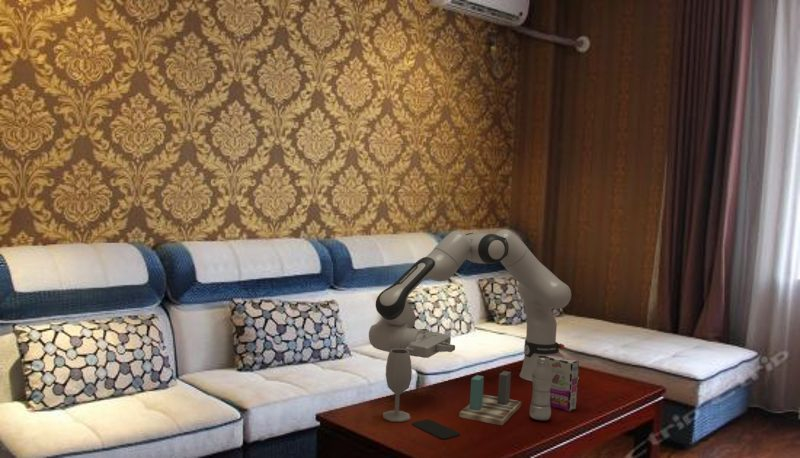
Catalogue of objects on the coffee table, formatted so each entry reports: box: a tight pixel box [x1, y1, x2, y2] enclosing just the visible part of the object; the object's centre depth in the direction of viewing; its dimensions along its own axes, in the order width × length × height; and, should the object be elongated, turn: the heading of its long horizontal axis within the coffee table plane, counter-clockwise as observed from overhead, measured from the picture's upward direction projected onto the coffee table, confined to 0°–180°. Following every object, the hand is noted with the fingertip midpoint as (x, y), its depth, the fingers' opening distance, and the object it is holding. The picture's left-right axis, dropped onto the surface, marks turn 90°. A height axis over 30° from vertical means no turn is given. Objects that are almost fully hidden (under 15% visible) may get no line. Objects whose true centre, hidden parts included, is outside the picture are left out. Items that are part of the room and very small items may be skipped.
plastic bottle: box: [529, 356, 553, 422], centre depth 220 cm, size 6×7×20 cm
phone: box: [410, 418, 461, 441], centre depth 208 cm, size 7×1×15 cm
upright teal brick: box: [469, 374, 485, 410], centre depth 222 cm, size 2×5×10 cm, turn 155°
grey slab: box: [497, 370, 512, 405], centre depth 229 cm, size 2×5×10 cm, turn 155°
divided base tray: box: [458, 393, 522, 426], centre depth 226 cm, size 14×21×2 cm, turn 155°
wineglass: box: [382, 349, 413, 423], centre depth 215 cm, size 9×9×21 cm
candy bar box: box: [547, 355, 580, 413], centre depth 234 cm, size 11×5×16 cm, turn 47°
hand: (453, 348), depth 225 cm, fingers closed
